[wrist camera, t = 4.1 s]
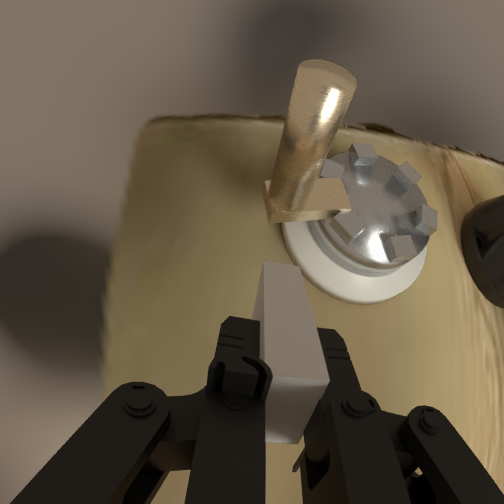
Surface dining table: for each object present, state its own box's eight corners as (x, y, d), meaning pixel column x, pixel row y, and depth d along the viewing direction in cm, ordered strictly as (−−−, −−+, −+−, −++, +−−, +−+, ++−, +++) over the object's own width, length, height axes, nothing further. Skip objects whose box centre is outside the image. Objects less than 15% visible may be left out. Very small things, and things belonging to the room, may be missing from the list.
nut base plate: (344, 150, 35) (350, 139, 33) (436, 242, 31) (447, 233, 29) (247, 217, 30) (250, 205, 28) (361, 338, 26) (372, 334, 24)
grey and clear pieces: (390, 172, 32) (458, 67, 17) (427, 268, 27) (539, 181, 12) (250, 174, 29) (273, 25, 15) (272, 293, 25) (342, 164, 10)
